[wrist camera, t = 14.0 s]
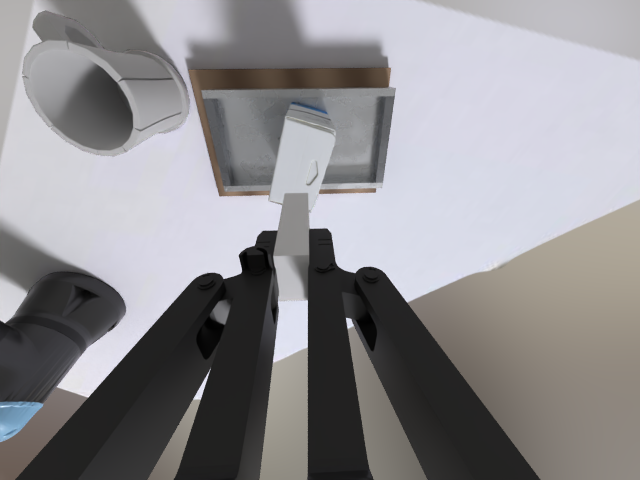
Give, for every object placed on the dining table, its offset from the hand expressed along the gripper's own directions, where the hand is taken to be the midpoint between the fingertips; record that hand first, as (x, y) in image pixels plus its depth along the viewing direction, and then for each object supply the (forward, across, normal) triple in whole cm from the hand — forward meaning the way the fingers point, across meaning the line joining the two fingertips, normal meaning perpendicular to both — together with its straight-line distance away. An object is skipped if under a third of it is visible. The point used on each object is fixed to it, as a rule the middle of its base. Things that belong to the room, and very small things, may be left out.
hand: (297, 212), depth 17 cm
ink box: (+21, 0, 0) cm, 21 cm away
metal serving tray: (+22, 0, 0) cm, 22 cm away
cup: (+23, -19, +6) cm, 30 cm away
